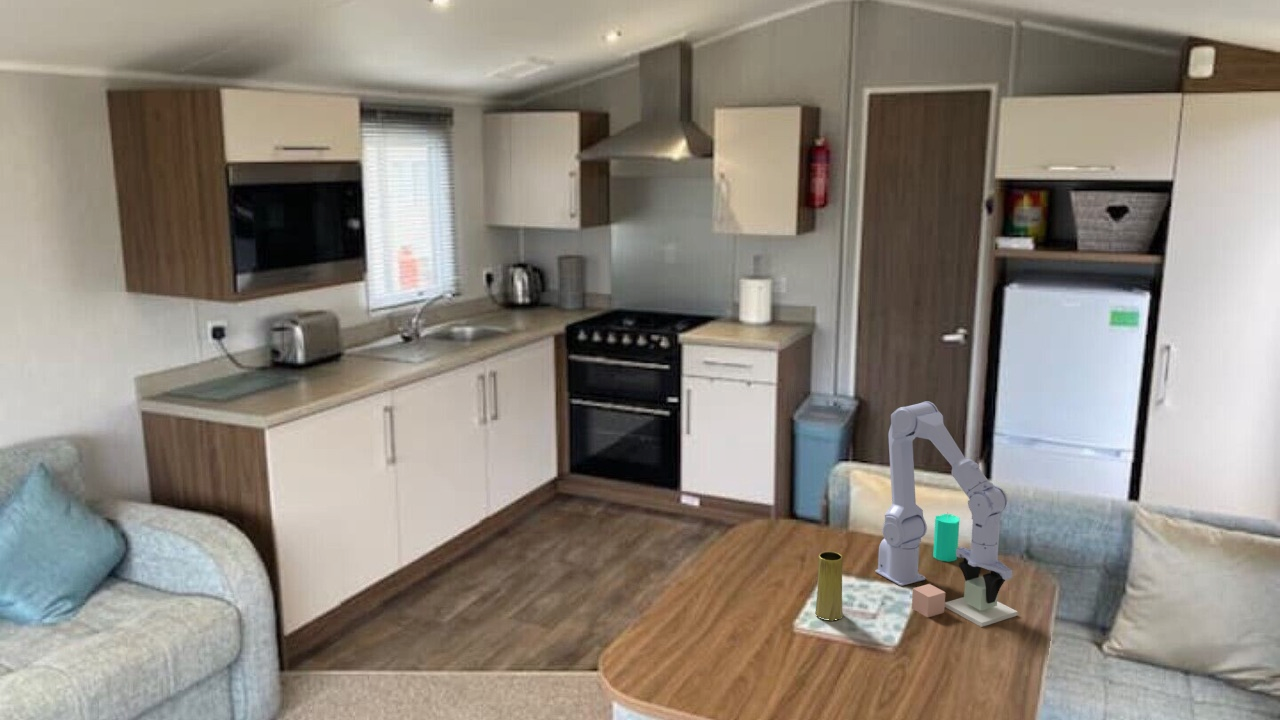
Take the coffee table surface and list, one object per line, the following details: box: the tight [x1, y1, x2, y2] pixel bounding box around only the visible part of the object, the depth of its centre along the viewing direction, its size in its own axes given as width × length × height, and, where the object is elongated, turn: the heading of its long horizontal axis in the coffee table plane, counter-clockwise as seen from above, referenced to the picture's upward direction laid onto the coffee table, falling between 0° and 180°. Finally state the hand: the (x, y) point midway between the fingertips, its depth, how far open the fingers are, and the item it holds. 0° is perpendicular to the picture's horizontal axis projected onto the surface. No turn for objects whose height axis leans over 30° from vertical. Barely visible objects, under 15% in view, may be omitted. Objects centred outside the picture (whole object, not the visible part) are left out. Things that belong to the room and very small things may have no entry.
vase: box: [814, 550, 844, 620], centre depth 215 cm, size 6×6×14 cm
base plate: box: [945, 596, 1018, 628], centre depth 217 cm, size 11×11×1 cm
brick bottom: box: [963, 576, 999, 611], centre depth 216 cm, size 5×5×5 cm
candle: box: [932, 512, 960, 562], centre depth 245 cm, size 6×6×12 cm
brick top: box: [911, 583, 946, 618], centre depth 217 cm, size 5×5×5 cm
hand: (981, 597), depth 216 cm, fingers closed on brick bottom, 5 cm apart
